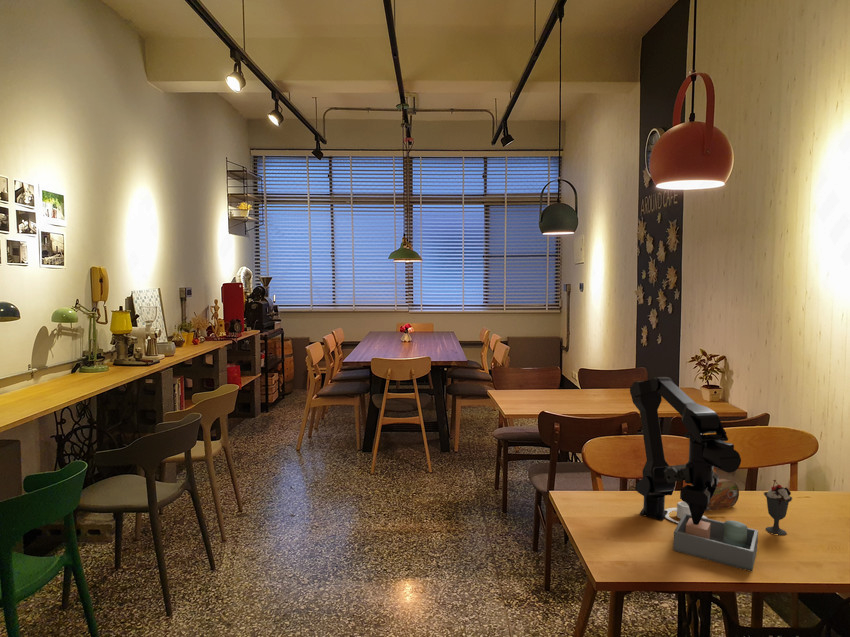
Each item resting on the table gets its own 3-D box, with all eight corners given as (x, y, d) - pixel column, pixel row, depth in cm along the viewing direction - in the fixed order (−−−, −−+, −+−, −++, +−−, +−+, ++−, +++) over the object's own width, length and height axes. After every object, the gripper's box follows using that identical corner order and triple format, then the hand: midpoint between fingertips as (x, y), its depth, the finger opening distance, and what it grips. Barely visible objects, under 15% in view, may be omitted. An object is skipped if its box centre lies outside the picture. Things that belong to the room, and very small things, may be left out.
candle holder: (716, 528, 152) (716, 513, 152) (672, 527, 153) (672, 512, 152) (696, 510, 164) (697, 496, 164) (656, 509, 164) (656, 495, 164)
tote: (683, 530, 150) (684, 513, 150) (757, 549, 140) (758, 530, 139) (673, 550, 139) (673, 531, 139) (752, 571, 129) (753, 551, 129)
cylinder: (723, 544, 140) (724, 518, 140) (745, 550, 138) (747, 523, 137) (722, 553, 136) (723, 526, 136) (745, 558, 133) (747, 531, 133)
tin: (698, 512, 162) (699, 485, 161) (690, 508, 165) (691, 481, 164) (739, 506, 166) (740, 480, 165) (731, 502, 169) (732, 476, 168)
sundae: (762, 534, 148) (765, 480, 147) (760, 524, 154) (763, 472, 153) (791, 539, 145) (794, 484, 144) (788, 529, 151) (791, 476, 150)
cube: (689, 536, 145) (689, 517, 145) (709, 541, 142) (710, 523, 142) (685, 543, 141) (685, 524, 141) (706, 549, 138) (707, 530, 138)
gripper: (675, 444, 152) (673, 498, 153) (659, 462, 137) (657, 522, 138) (719, 452, 146) (717, 508, 147) (708, 471, 131) (706, 534, 132)
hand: (698, 517), depth 141 cm, fingers open, 9 cm apart
